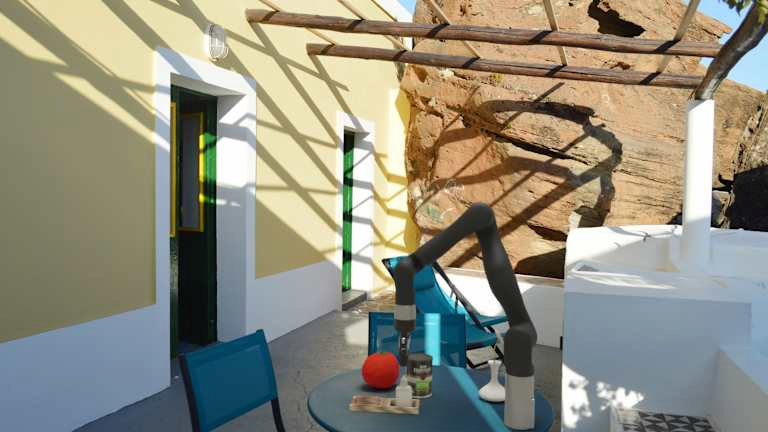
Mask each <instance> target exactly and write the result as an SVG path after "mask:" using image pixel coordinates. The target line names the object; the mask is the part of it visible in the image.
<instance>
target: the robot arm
mask: <svg viewBox="0 0 768 432" xmlns="http://www.w3.org/2000/svg"><path fill="white" fill-rule="evenodd" d="M472 234H475V237H476V239H477V242H478V243H479V247H480V251H481V252H480V253H481V260H482V265H483V270H484V273H485V277H486V280H487V283H488V286H489V289H490V291H491V293H492V295H493V296H494V297H495V299H496V300H497V301H498V303H499V305H500V306H501V308H502V309H503V312H504V314H505V317H506V320H507V323H508V327H509V328H508V329H507V330H506V332H505V334H504V337H503V341H504V347H503V365H504V367H505V372H504V373H505V375H504V381H505V382H504V388H505V400H504V415H503V416H504V417H503V419H504V420H503V422H504V425H505V426H506V427H508V428H510V429H513V430H521V431H522V430H529V429H535V406H536V404H535V403H536V401H535V397H534V396H535V394H534V393H535V392H534V391H535V366H534V364H533V360H532V359H533V356H532V354H533V353H532V352H533V348H534V347H535V346H536V344H537V342H538V333H537V330H536V327H535V326H534V323H533V321H532V319H531V317H530V315H529V313H528V310H527V308H526V306H525V303H524V298H523V295H522V292H521V289H520V286H519V282H518V280H517V276H516V273H515V270H514V268H513V265H512V262H511V260H510V257H509V254H508V252H507V250H506V248H505V246H504V244H503V241H502V238H501V236H500V232H499V229H498V224H497V218H496V214H495V211H494V209H493V207H491V206H490V205H489V204H488V203H485V202H481V201H479V202H478V201H477V202H473V203H471V205H469V207H468V208H466V210H464V212H463V213H462V214H461V215H460V216H459V217H457V219H456V220H455V221H453V222H452V223H451V224H450V225H449V226H447V227H446V228H445V229H444V230H442V231H440V232H439V233H437V234H436V235H434V236H433V237H432V238H430V239H429V240H427V241H425V242H424V243H423V244H422V245H421V246H419V247H418V248H416V250H415V251H414V252H412V253H410V254H409V255H407V256H406V257H404V258H402V259H401V260H400V261H398V262H397V263H396V264H395V266H394V269H393V281H394V282H393V283H394V289H395V294H394V295H395V296H394V299H395V300H394V311H393V315H394V317H393V319H394V320H393V329H394V331H395V332H398V333H400V334H398V335H399V336H398V350H399V352H398V356H399V367H405V368H406V365H407V359H408V354H409V349H410V345H411V338H412V337H411V336H412V335H411V334H410V333H413V332H415V331H416V324H417V322H416V321H417V317H416V316H417V307H416V289H415V288H414V286H415V285H414V284H415V282H414V281H415V280H414V279H415V276H416V275H418V274H419V273H420V272H421V271H423V269H425V268H427V267H428V266H430V265H432V264H433V263H434V262H436V261H438V260H439V259H440V258H441V257H443V256H444V255H446V254H447V253H448V252H449V251H451V249H453V248H454V247H455V245H457V244H458V243H460V242H461V241H462V240H464V239H465V238H466V237H468V236H470V235H472Z"/></svg>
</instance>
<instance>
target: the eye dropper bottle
mask: <svg viewBox="0 0 768 432" xmlns="http://www.w3.org/2000/svg"><path fill="white" fill-rule="evenodd" d="M395 398H396V405H395V406H401V407H413V406H412V399H413V398H412V388H411V386H409V385H407V378H405V374H403V375H402V377H401V378H400V383H399V385H398V386H396V387H395Z"/></svg>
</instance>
